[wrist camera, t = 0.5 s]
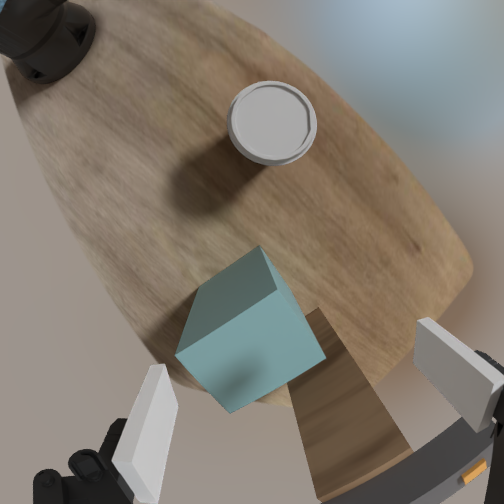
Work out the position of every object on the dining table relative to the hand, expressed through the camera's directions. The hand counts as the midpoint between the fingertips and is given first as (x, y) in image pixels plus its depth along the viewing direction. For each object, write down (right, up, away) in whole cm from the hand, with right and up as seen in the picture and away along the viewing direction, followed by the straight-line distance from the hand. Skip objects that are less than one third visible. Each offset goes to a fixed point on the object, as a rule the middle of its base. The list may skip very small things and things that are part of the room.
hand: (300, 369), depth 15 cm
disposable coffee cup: (-1, +21, +27) cm, 35 cm away
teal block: (-3, +1, +31) cm, 31 cm away
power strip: (+7, -14, +4) cm, 16 cm away
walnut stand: (+6, -7, +33) cm, 34 cm away
